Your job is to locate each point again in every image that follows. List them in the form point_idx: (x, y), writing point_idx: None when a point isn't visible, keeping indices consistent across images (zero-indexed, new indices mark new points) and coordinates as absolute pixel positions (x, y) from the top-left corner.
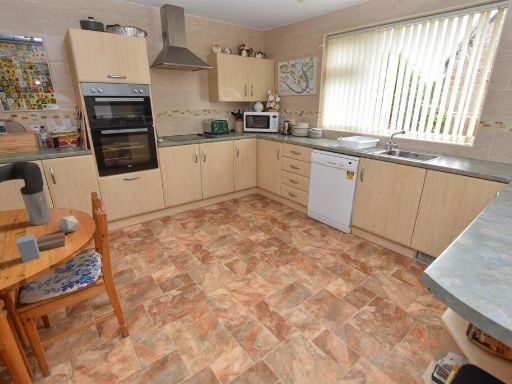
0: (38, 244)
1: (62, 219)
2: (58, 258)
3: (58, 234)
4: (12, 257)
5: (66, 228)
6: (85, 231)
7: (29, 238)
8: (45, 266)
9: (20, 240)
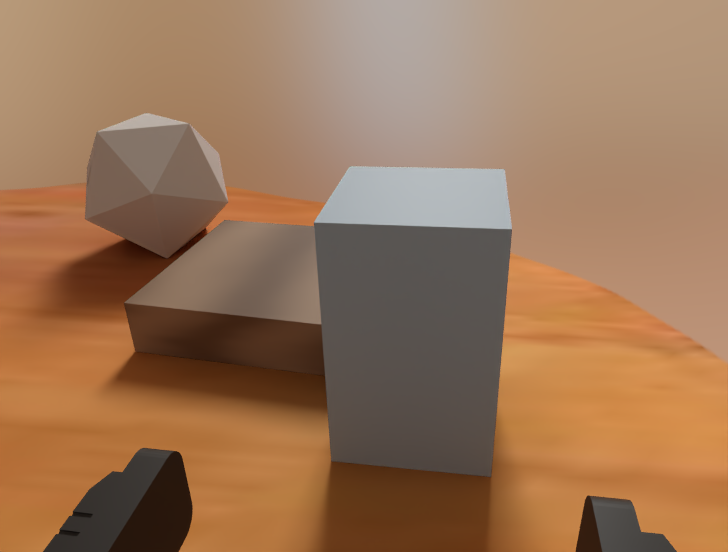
0: (292, 312)
1: (140, 135)
2: (597, 311)
3: (232, 236)
4: (242, 541)
5: (211, 196)
6: (270, 209)
7: (445, 181)
8: (707, 370)
9: (437, 211)
